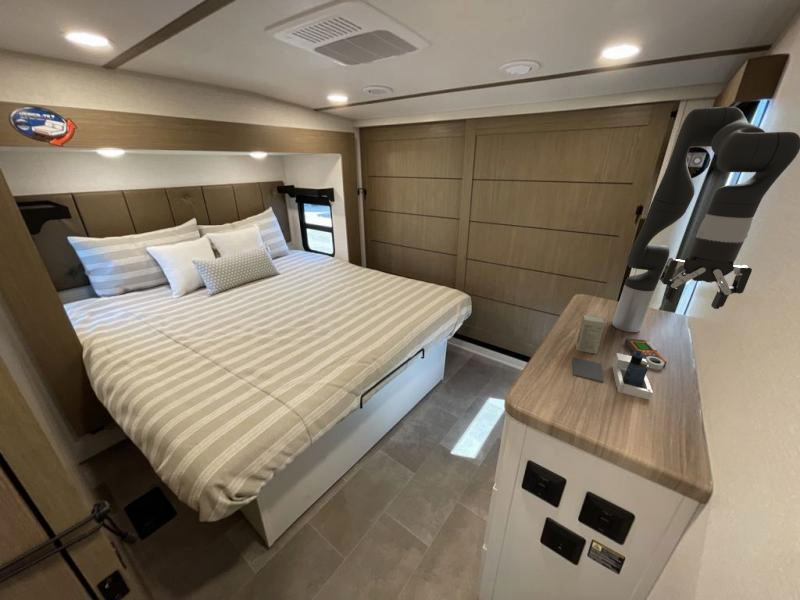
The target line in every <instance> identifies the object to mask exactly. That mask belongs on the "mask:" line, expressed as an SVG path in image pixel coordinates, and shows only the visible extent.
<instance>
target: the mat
mask: <svg viewBox="0 0 800 600" xmlns="http://www.w3.org/2000/svg"><path fill="white" fill-rule="evenodd" d="M572 370H573V374H572V375H573V376H575V377H579V378H584V379H588V380H590V381H591V380H592V381H596V382H600V383H604V382H605V379H604V374H603V369H602V363H600V362H596V361H593V360H587V359H583V358H579V357H574V356H573V357H572Z"/></svg>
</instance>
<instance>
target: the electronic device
mask: <svg viewBox="0 0 800 600" xmlns="http://www.w3.org/2000/svg"><path fill="white" fill-rule="evenodd" d="M624 345H625V346H626V347H627V349H628V350H629V351H630V353H632V355H633V353H634V352H637V351H641V352H642V353H641V354H643V359H646V361H647V363H648V368H649V369H652V370H655V371H661V370H662V369H663V367H666V365H667V361H666V359H664V357H662V355H661V354H659V352H658V349H657V348H656V347H655V346H654V345H653V344H652V343H651V342H649V341H648V340H646V339H640V338H639V339H638V338H637V339H636V338H625V341H624Z"/></svg>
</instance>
